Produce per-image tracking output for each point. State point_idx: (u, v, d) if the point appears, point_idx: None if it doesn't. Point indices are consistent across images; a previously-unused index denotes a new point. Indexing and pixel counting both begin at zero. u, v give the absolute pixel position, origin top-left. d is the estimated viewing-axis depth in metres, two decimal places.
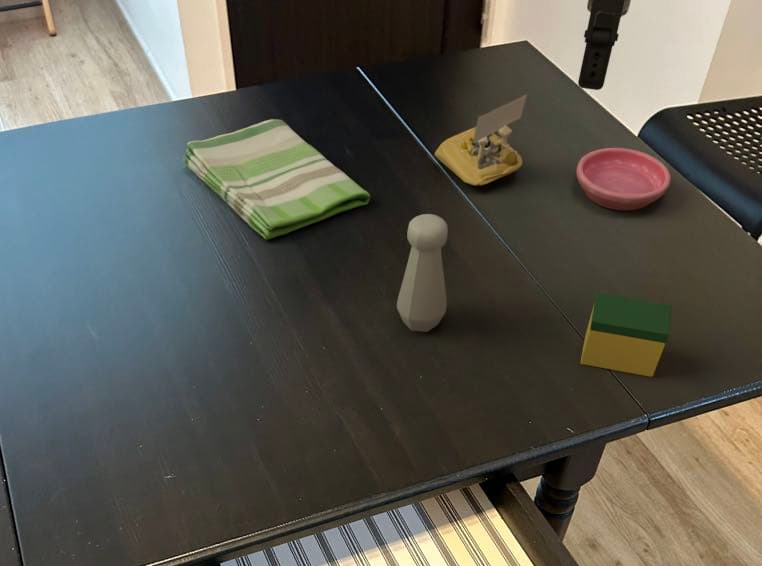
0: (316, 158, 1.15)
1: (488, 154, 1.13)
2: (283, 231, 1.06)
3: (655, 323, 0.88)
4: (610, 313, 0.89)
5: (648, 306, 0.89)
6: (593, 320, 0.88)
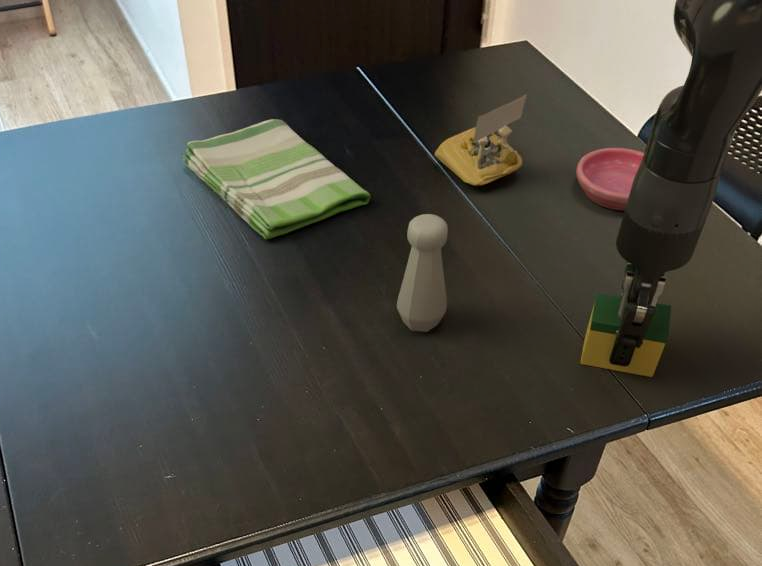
0: (316, 158, 1.15)
1: (488, 154, 1.13)
2: (283, 231, 1.06)
3: (655, 323, 0.88)
4: (610, 313, 0.89)
5: None
6: (593, 320, 0.88)
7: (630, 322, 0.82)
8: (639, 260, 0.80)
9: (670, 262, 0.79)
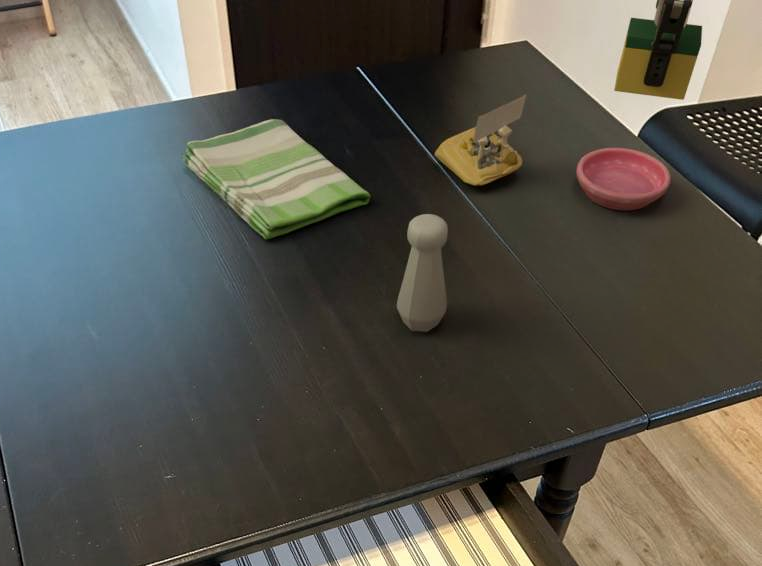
0: (316, 158, 1.15)
1: (488, 154, 1.13)
2: (283, 231, 1.06)
3: (687, 37, 0.92)
4: (644, 30, 0.93)
5: None
6: (628, 35, 0.92)
7: (667, 18, 0.86)
8: None
9: None
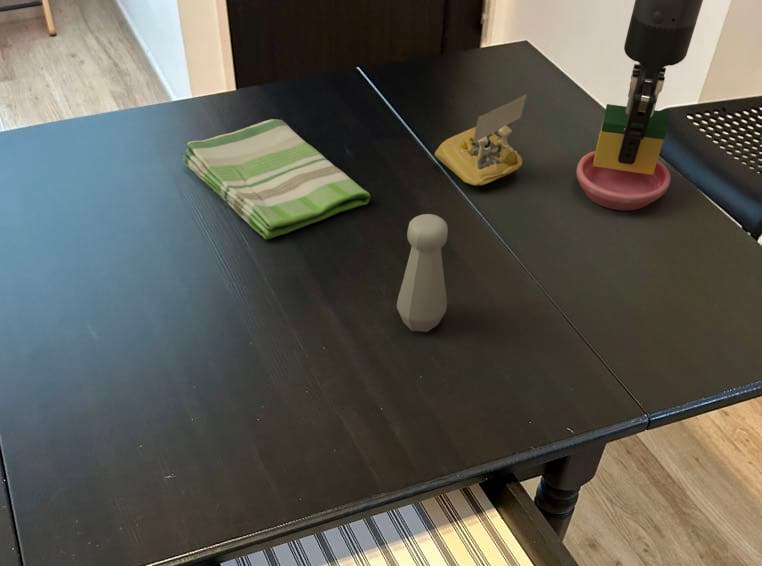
0: (316, 158, 1.15)
1: (488, 154, 1.13)
2: (283, 231, 1.06)
3: (655, 123, 1.06)
4: (618, 117, 1.07)
5: None
6: (604, 121, 1.06)
7: (636, 111, 1.01)
8: (643, 56, 0.98)
9: (668, 57, 0.98)
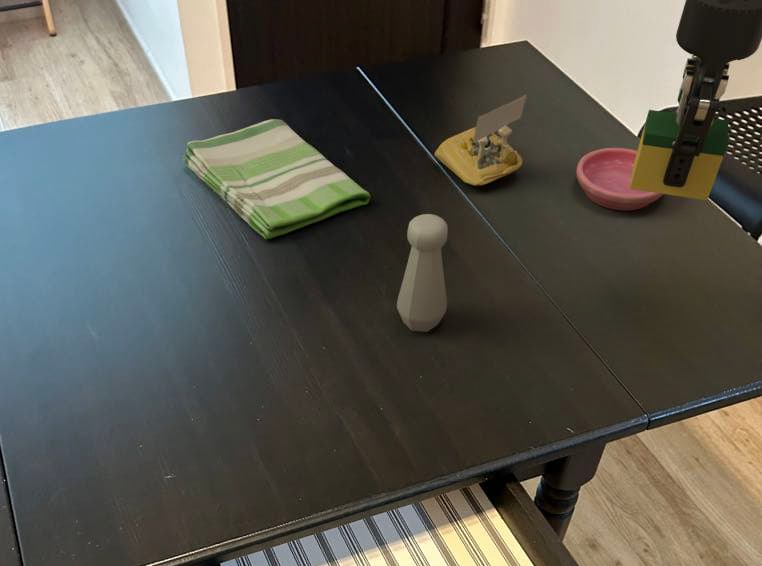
0: (316, 158, 1.15)
1: (488, 154, 1.13)
2: (283, 231, 1.06)
3: (712, 134, 0.82)
4: (664, 126, 0.83)
5: None
6: (646, 132, 0.82)
7: (691, 120, 0.77)
8: (703, 48, 0.74)
9: (737, 49, 0.74)
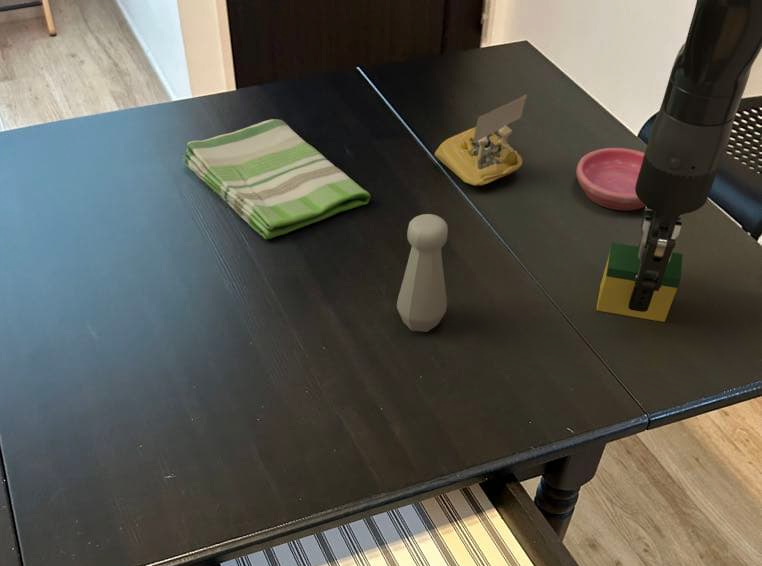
0: (316, 158, 1.15)
1: (488, 154, 1.13)
2: (283, 231, 1.06)
3: (667, 269, 0.93)
4: (625, 260, 0.94)
5: None
6: (609, 266, 0.94)
7: (651, 256, 0.86)
8: (657, 203, 0.85)
9: (687, 205, 0.84)
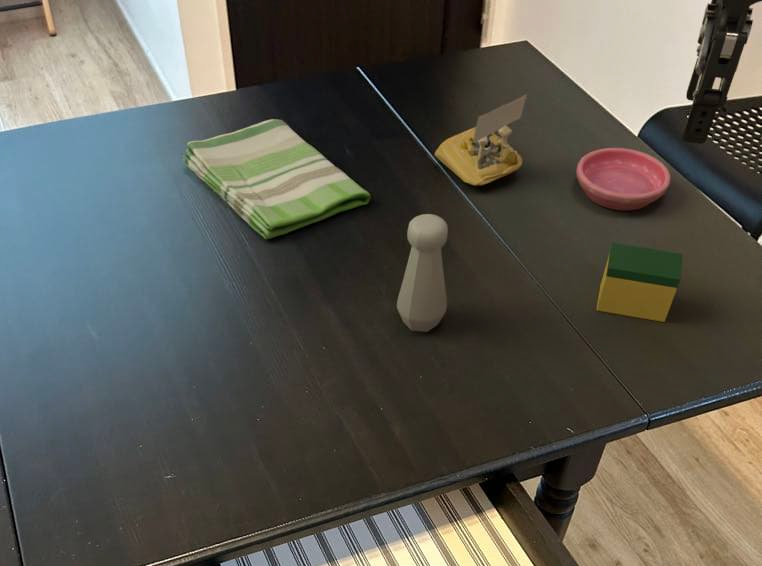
0: (316, 158, 1.15)
1: (488, 154, 1.13)
2: (283, 231, 1.06)
3: (667, 269, 0.93)
4: (625, 260, 0.94)
5: (661, 254, 0.95)
6: (609, 266, 0.94)
7: (717, 57, 0.70)
8: None
9: None
